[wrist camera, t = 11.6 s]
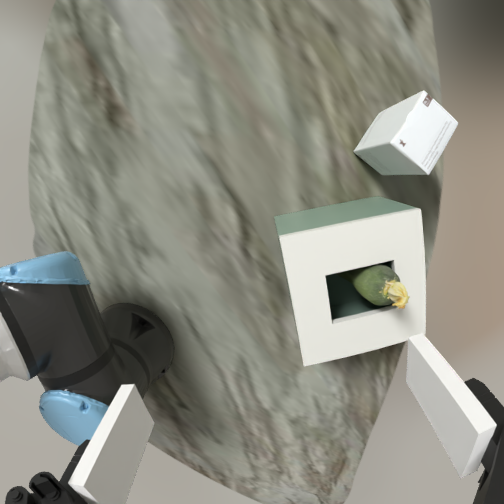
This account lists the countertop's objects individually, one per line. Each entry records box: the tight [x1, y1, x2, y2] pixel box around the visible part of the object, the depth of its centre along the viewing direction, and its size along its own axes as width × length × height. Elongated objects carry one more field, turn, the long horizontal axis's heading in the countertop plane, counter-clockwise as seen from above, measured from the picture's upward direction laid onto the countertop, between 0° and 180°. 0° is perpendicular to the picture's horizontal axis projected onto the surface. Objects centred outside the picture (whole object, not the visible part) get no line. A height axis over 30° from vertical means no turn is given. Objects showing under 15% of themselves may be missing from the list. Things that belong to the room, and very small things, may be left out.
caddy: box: [274, 196, 426, 366], centre depth 41 cm, size 16×16×14 cm
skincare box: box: [354, 90, 458, 175], centre depth 36 cm, size 8×6×15 cm
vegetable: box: [335, 263, 410, 310], centre depth 37 cm, size 4×4×20 cm
